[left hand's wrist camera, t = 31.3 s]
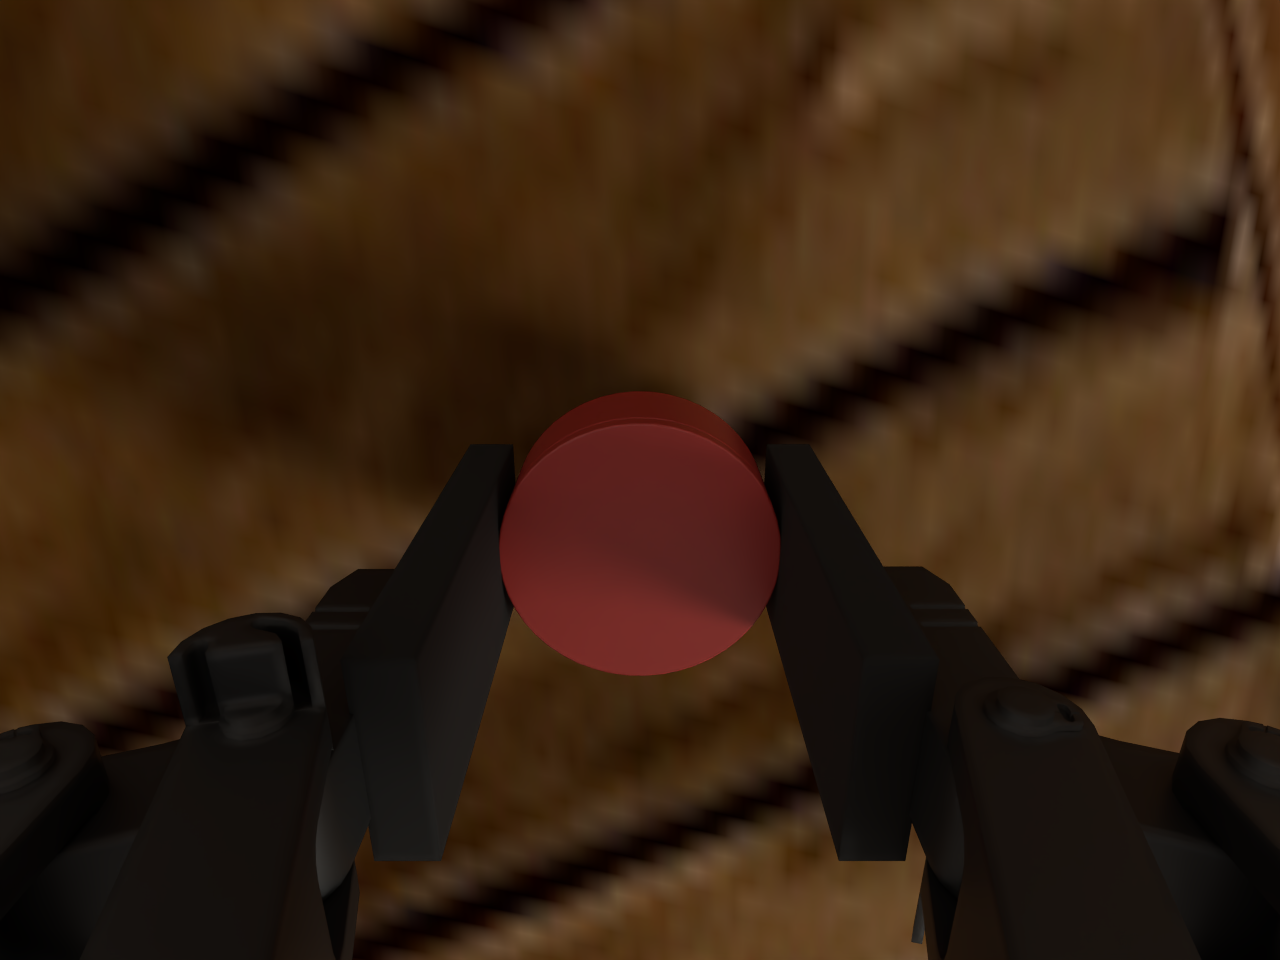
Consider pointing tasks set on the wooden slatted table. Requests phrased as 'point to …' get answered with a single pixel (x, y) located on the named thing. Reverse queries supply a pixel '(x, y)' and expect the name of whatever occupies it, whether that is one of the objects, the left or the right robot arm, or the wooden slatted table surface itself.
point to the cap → (639, 535)
